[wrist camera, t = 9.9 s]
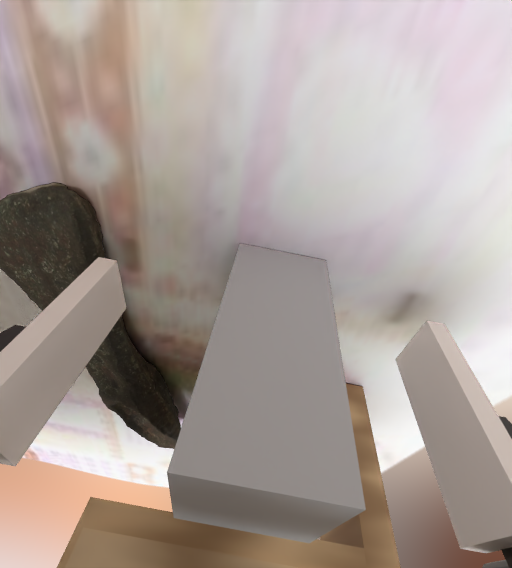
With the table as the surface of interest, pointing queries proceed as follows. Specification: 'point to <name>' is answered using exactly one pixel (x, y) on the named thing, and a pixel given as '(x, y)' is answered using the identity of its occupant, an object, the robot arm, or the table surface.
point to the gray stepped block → (270, 408)
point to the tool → (59, 275)
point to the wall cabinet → (235, 543)
